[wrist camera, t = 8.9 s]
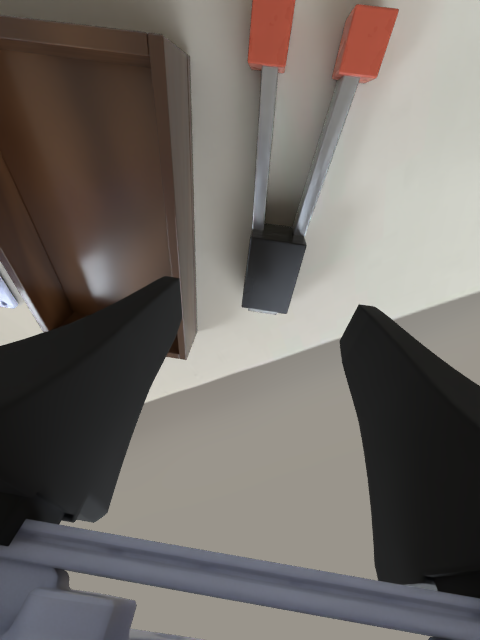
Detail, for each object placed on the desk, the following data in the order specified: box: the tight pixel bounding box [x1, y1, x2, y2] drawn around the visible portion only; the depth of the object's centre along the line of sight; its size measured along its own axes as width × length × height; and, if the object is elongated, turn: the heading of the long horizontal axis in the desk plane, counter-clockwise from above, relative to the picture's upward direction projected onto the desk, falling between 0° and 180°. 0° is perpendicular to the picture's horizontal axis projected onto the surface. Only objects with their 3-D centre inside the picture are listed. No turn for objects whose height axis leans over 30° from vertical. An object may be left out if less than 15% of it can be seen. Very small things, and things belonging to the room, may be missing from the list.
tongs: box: [242, 0, 399, 315], centre depth 14 cm, size 5×15×3 cm, turn 175°
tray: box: [0, 15, 197, 360], centre depth 16 cm, size 12×18×4 cm
